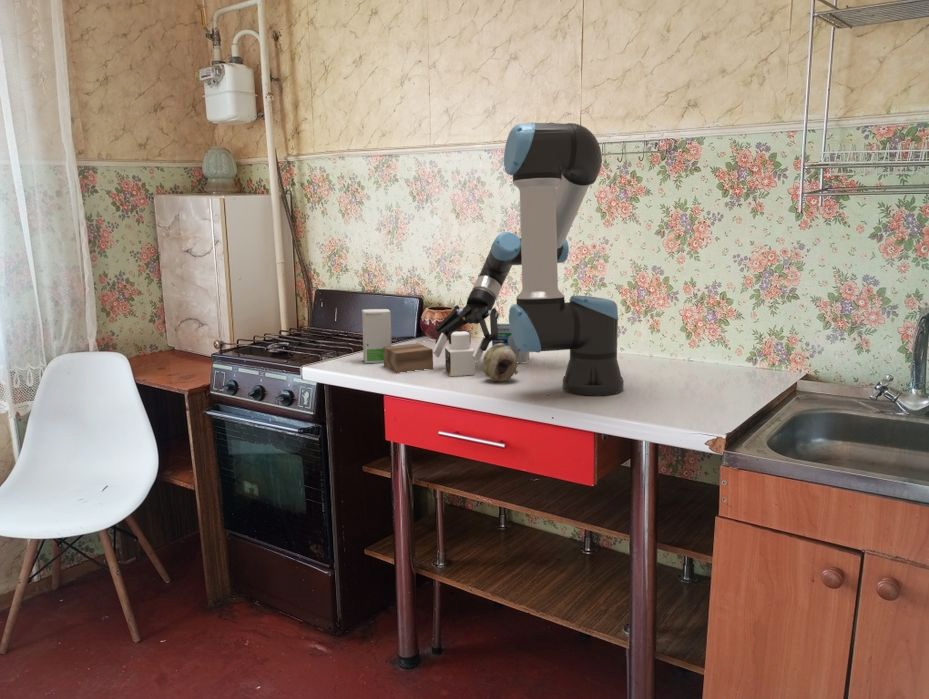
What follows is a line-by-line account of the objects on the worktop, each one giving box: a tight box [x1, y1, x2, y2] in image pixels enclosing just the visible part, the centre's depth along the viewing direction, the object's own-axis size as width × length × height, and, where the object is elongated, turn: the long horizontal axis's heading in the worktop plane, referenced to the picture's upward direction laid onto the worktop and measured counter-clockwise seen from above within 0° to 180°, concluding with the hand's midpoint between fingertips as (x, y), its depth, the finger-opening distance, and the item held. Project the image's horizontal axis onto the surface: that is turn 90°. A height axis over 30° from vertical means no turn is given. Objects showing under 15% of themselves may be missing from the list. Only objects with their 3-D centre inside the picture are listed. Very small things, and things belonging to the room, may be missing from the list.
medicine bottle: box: [444, 329, 476, 377], centre depth 207 cm, size 7×7×12 cm
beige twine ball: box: [481, 343, 519, 383], centre depth 198 cm, size 10×8×10 cm
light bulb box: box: [491, 323, 530, 363], centre depth 223 cm, size 11×7×11 cm, turn 80°
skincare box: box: [361, 308, 392, 364], centre depth 226 cm, size 8×7×16 cm
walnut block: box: [383, 342, 434, 374], centre depth 217 cm, size 11×11×6 cm
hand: (455, 356), depth 206 cm, fingers open, 12 cm apart
